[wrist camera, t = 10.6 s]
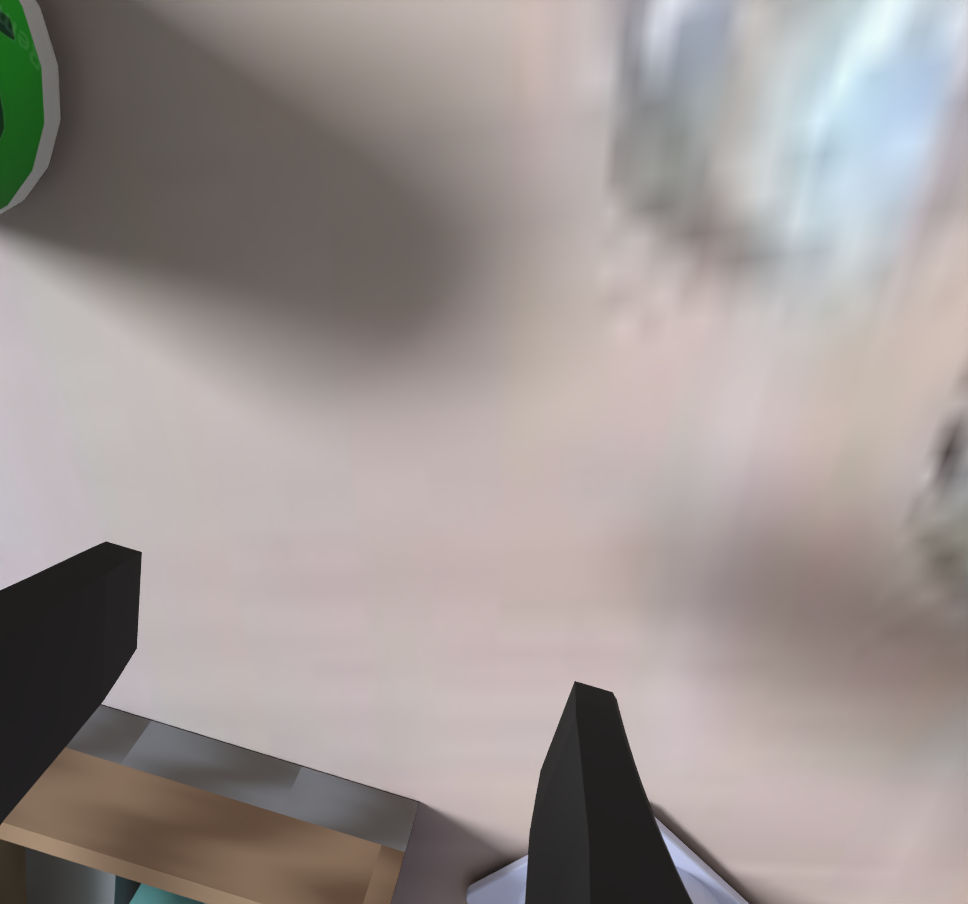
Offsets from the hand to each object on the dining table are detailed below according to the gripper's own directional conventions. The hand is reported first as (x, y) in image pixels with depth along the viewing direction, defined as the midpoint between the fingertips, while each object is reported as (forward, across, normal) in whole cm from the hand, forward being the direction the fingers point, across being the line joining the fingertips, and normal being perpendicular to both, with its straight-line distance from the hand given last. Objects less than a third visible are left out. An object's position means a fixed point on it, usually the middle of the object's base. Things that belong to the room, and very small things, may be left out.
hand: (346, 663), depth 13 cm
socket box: (+10, +5, +22) cm, 24 cm away
